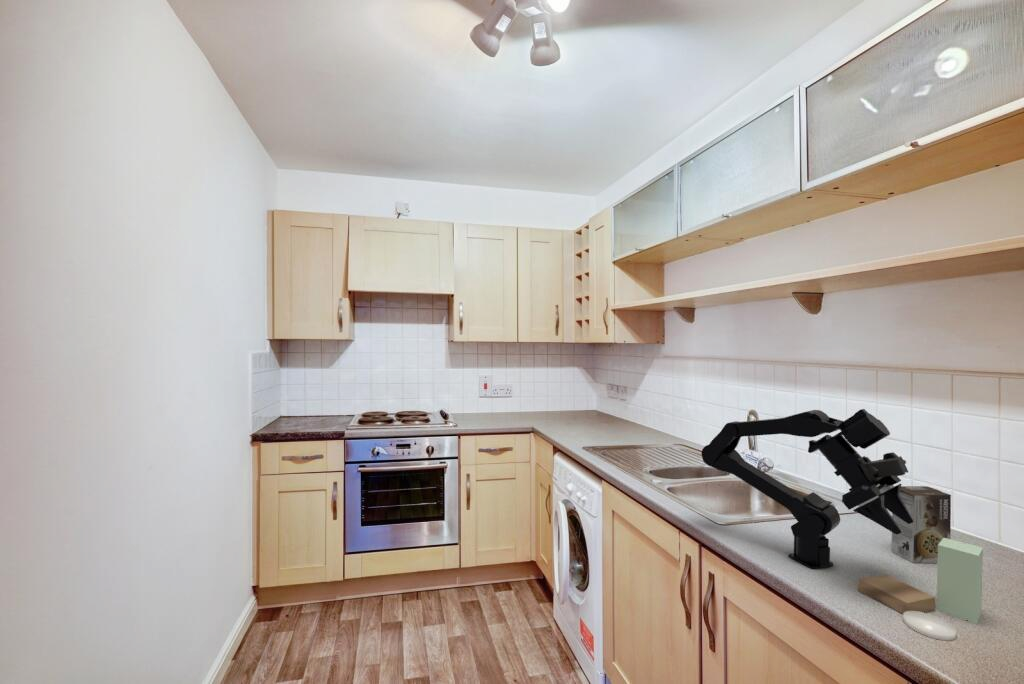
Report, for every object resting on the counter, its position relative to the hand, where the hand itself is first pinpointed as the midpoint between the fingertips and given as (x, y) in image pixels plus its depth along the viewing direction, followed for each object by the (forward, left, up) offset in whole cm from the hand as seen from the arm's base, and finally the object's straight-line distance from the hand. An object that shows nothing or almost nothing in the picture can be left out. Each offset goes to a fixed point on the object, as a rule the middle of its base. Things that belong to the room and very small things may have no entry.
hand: (905, 528), depth 94 cm
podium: (+1, -4, -13) cm, 14 cm away
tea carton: (+7, +3, -13) cm, 16 cm away
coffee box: (-11, +22, -14) cm, 28 cm away
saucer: (+9, -8, -13) cm, 18 cm away
